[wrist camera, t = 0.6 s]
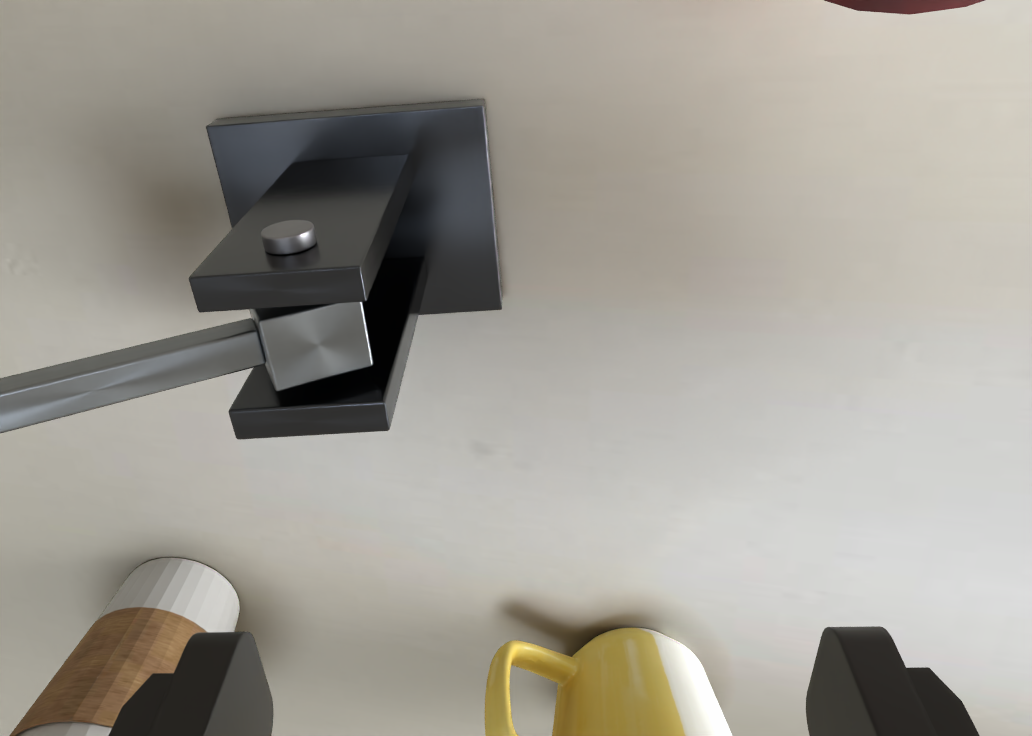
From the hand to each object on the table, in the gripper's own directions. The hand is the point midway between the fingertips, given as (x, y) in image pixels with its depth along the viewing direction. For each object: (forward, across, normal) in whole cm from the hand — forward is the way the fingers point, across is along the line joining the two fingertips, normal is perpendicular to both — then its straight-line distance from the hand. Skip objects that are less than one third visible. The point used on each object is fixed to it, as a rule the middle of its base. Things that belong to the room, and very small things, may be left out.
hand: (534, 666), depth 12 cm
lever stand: (+23, +6, +2) cm, 24 cm away
